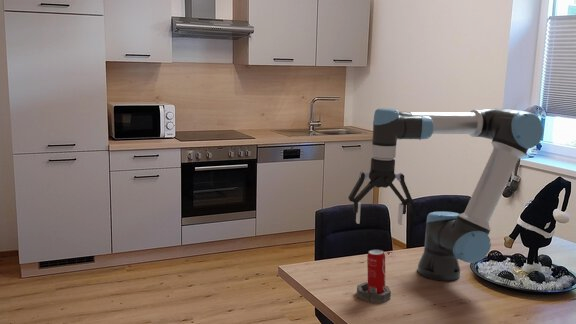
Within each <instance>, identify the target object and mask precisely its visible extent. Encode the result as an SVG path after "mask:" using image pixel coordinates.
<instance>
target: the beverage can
mask: <svg viewBox="0 0 576 324" xmlns="http://www.w3.org/2000/svg"><path fill="white" fill-rule="evenodd" d="M366 256H367V259H366V260H367V263H366V264H367V282H368V293H371V294H382V293H384V292H386V286H387V285H386V254H385V251H384V250H382V249H370V250H368V253H367V255H366Z"/></svg>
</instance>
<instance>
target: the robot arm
mask: <svg viewBox="0 0 576 324" xmlns="http://www.w3.org/2000/svg"><path fill="white" fill-rule="evenodd" d="M542 124H543V123H542V121H541V119H540V118H539V116H537V114H535V113H534V112H533V113H532V112H529V111H525V110H515V109H508V108H501V107H500V108H499V107H497V108H488V109H487V108H486V109H473V110H470V111H469V112H457V111H456V112H453V111H451V112H450V111H448V112H446V111H445V112H443V111H441V112H440V111H399V110H398V109H394V108H385V107H383V108H377V109H375V111H374V114H373V121H372V138H371V139H372V143H371V159H370V169H369V170H370V171H369V173H368V172H367V173H366V172H364V171H360V173H359V177H358V180H357V181H356V183H355V185H354V187H353V188H352V190H351V192H350V194H349V195H348V197H347V199H348V200H349V202H352V203H353V209H352V210H353V211H352V212H353V213H354V214H356V215H355V222H356V224H359V225H360V222H361V208H362V207H361V205H362V203H361V201H362V200H363V199H364V197H365V196H366V195H367V194H369V192H370V191H371V190H372V189H374V187H376V188H385V189H387V188H388V187H390V189H391V190H392V192H393V193H394V194H395V195H396V196H397V198H398V199H399V201H401V202H399V203H398V212H397V213H398V214H397V215H398V216H397V223H398V225H399V226H402V225H403V218H404V217H403V216H404V215H406V213H407V206H408V204H413V202H414V201H413V198H412V196H411V193H410V191H409V188H408V186H407V183H406V182H405V175H404V174H403V173H402V172H400V173H396V174H395V170H396V169H395V168H396V167H395V166H396V160H395V158H396V154H397V141H398V140H419V141H421V140H427V139H429V138H431V137H432V135H469V136H471V137H472V138H485V139H489V140H491V142H490V143H491V144H492V147H493V149H492V151H491V153H490V156H489V157H488V160H487V162H486V165H485V167H484V169H483V170H482V173H481V176H480V177H479V179H478V182H477V184H476V186H475V189H474V190H473V192H472V194H471V197H470V199H469V201H468V203H467V205H466V208H465V210H464V212H462V213H459V212H453V211H433V212H429V213H428V214H427V217H426V221H425V224H426V225H425V235H424V236H425V237H424V250H423V253H422V254H421V255H422V256H421V258H420V259H419V261H418V263H417V273H418V274H419V275H421V276H422V277H425V278H427V279H430V280H435V281H445V282H446V281H450V282H451V281H455V280H458V279H459V278H460V277H461V267H460V263H459V260H460V261H463V262H464V263H468V264H474V263H475V264H476V263H477V262H479V261H482V260H484V258H486V257H487V255H488V254H489V253H490V249H491V246H492V242H491V237H489V235H490V233H491V230H492V229H491V227H490V221H491V218H492V216H493V214H494V212H495V210H496V209H497V208H496V207H497V206H498V204H499V202H500V199H501V198H502V195H503V193H504V191H505V188H506V186H507V185H508V183H509V180H510V178H511V176H512V174H513V172H514V170H515V167H516V165H517V162H518V161H519V159H520V158H522V157H526V155H527V153H528V151H529V149H532V148H534V147H536V146H538V145H540V142H541V140H542V138H543V135H544V126H543V125H542ZM368 178H369V180H370V181H369V182H368V183H367V184H366V185H365V187H363V189H362V190H360V189H361V187H362V185H363V184H364V181H365V180H367V179H368ZM395 179H396V180H397V181H398V182H399V183H400V186H401V189H402V191H403V193H404V195H405V197H403V195H402V193H400V191H399V190H398V189H397V188H396V186H395V185H394V181H395ZM359 190H360V192H359ZM358 192H359V193H358Z"/></svg>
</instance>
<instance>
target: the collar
mask: <svg viewBox="0 0 576 324" xmlns="http://www.w3.org/2000/svg"><path fill="white" fill-rule="evenodd" d="M391 293H392V292H391V289H390V287H389V286H388V285H386V292H384V293H382V294H371V293H368V281H366V282H361V283H360V284H357V285H356V296H357V297H358V299H359V300H362V301H365V302H367V303H374V304H375V303H379V304H381V303H385V302H387V301H389V300H391V295H392V294H391Z"/></svg>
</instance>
